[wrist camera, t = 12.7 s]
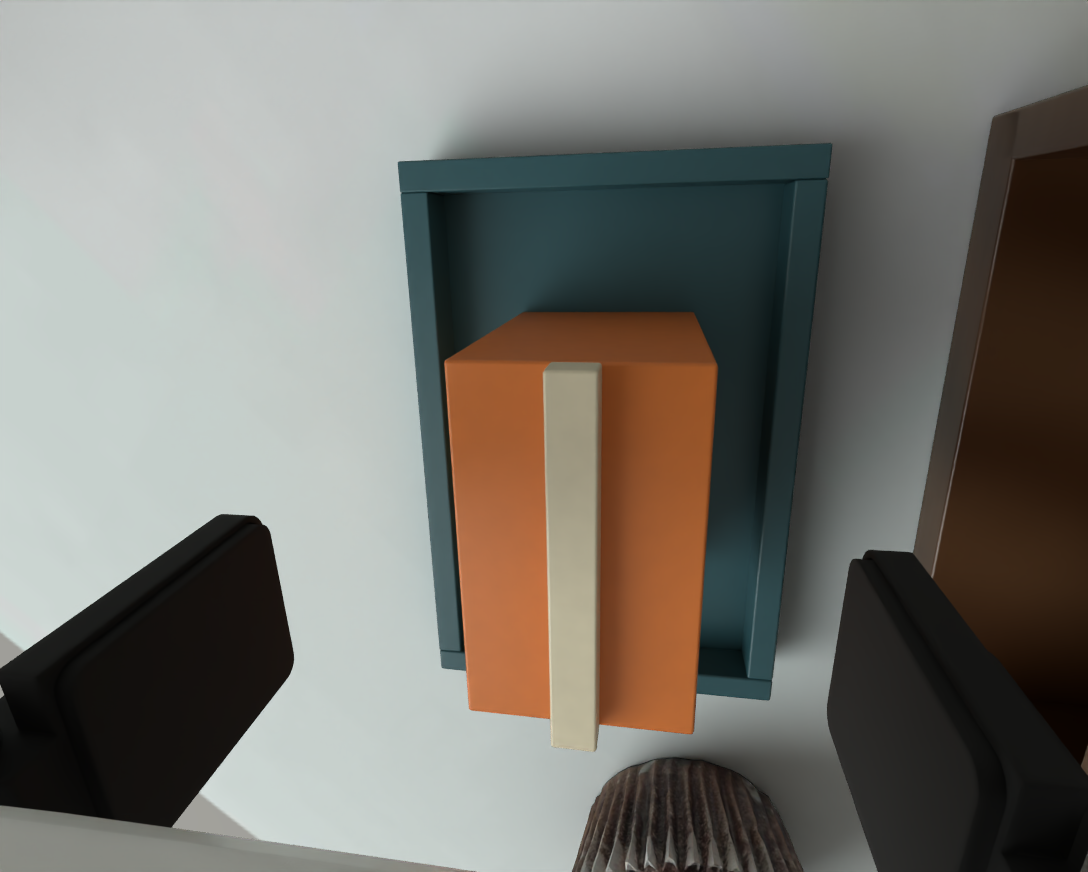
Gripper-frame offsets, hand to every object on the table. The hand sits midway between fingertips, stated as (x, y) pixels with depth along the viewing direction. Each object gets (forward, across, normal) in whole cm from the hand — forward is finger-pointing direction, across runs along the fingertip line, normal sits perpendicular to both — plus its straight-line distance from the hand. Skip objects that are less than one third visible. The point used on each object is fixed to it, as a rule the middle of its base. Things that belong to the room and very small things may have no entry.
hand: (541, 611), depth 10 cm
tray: (+11, 0, +1) cm, 11 cm away
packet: (+11, 0, +1) cm, 11 cm away
